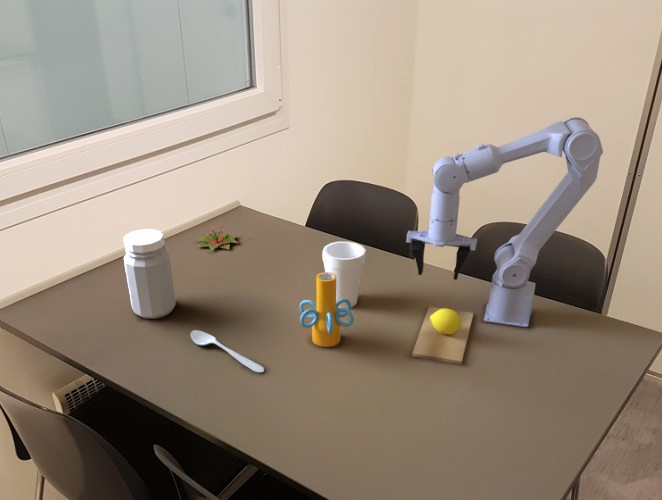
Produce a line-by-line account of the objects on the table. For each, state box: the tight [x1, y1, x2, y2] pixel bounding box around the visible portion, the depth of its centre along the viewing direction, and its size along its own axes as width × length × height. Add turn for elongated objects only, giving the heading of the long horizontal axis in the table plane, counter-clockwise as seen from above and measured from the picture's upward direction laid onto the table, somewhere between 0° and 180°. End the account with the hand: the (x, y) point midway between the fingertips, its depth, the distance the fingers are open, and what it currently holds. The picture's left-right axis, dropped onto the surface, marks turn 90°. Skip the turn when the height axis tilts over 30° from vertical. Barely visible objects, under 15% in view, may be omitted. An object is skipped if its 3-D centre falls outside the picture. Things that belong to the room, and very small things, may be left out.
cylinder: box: [299, 271, 355, 348], centre depth 143 cm, size 12×10×15 cm
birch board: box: [411, 306, 474, 365], centre depth 148 cm, size 10×20×1 cm, turn 163°
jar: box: [123, 228, 177, 320], centre depth 153 cm, size 10×10×18 cm
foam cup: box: [322, 241, 367, 309], centre depth 158 cm, size 10×9×13 cm
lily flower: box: [196, 225, 239, 252], centre depth 187 cm, size 12×12×5 cm
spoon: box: [190, 329, 265, 374], centre depth 142 cm, size 4×21×2 cm, turn 50°
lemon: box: [430, 307, 461, 334], centre depth 147 cm, size 7×5×5 cm
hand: (438, 275), depth 152 cm, fingers open, 7 cm apart
